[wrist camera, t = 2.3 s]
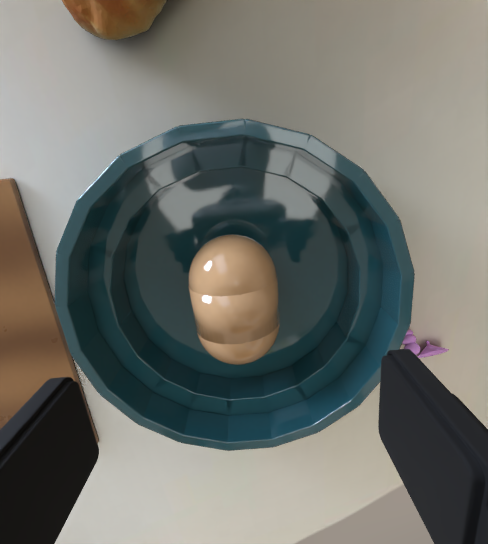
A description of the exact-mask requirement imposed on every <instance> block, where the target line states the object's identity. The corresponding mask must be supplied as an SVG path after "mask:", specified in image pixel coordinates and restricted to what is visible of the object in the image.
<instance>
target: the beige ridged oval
mask: <svg viewBox="0 0 488 544" xmlns="http://www.w3.org/2000/svg"><path fill="white" fill-rule="evenodd" d="M188 286H189V292H190V297H191V303H192V309H193V315H194V321H195V327H196V332H197V335H198V338H199V341H200V343H201V344H202V346H203V348H204V349H205V350H206V351H207V352H208V353H209V354H210V355H211V356H212V357H214V358H215V359H217V360H218V361H221V362H223V363H227V364H231V365H245V364H249V363H252V362H254V361H256V360H258V359H260V358H262V357H263V356H264V355H265V354H266V353H267V352H268V351H269V350H270V349H271V348H272V347H273V345H274V343H275V341H276V339H277V336H278V333H279V329H280V312H279V298H278V283H277V272H276V267H275V264H274V261H273V259H272V257H271V256H270V254H269V253H268V251H267V250H266V249H265V248H264V247H263V246H262V245H261V244H260V243H259V242H257V241H255V240H254V239H252V238H250V237H247V236H244V235H238V234H226V235H221V236H218V237H215V238H213V239H211V240H210V241H208V242H207V243H205V244H204V245H203V246H202V247H201V248H200V249H199V250H198V251H197V253H196V254H195V256H194V257H193V259H192V262H191V264H190V268H189V274H188Z"/></svg>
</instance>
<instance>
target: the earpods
mask: <svg viewBox="0 0 488 544" xmlns="http://www.w3.org/2000/svg"><path fill="white" fill-rule="evenodd" d="M412 334H413V331H411V330H408V331H407V333H406V335H405V338H404V340H403V342H402V343H403V344H405V347H404V349H410V350H411V351H412V352H413V353H414V354H415V355H416V354H419V352H420V346H419V345H418V344H417V343H415V341H416V337H415V336H414V335H412ZM426 344H427V346H426V348H425V349H424V350H423V351H422V352H421V353H420V354H419V355H418V356H417V357H418V358H422V357H428V356H433V355H437V354H440V353H444V352H446V351H448V350H449V349H445V348H441V347H437V346H434V345H430V342H429V341H426Z"/></svg>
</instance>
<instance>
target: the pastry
mask: <svg viewBox="0 0 488 544" xmlns="http://www.w3.org/2000/svg"><path fill="white" fill-rule="evenodd" d="M166 1H167V0H62V2H63V3H64V5H65V6H66V8H67V9H68V10H69V12H70V13H71V15H72V16H73V18H74V20H75V21H76V22H77V23H78V24H79V25H80V26H81V27H82V28H83V29H85V30H86V31H88V32H90V33H91V34H93V35H95V36H97V37H99V38H103V39H107V40H119V39H123V38H128V37H132V36H135V35H137V34H139V33H142V32H145V31H147V30H148V29H149V28H150V27H151V25H152V23H153V21H154V19H155V17H156V16H157V15H158V14H159V13H160V12H161V10H162V8H163V5H164V4H165V3H166Z"/></svg>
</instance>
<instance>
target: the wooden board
mask: <svg viewBox="0 0 488 544" xmlns="http://www.w3.org/2000/svg"><path fill="white" fill-rule="evenodd" d="M61 377H71V378H72V379H73V380H74V381H76V382H78V384H79V386H80V389H81V393H82V396H83V399H84V402H85V406H86V409H87V412H88V415H89V419H90V422H91V425H92V428H93V431H94V435H95V438H96V441H97V444H98V442H99V440H98V437H97V434H96V431H95V428H94V424H93V421H92V418H91V415H90V412H89V409H88V406H87V403H86V400H85V397H84V393H83V390H82V387H81V384H80V381H79V378H78V375H77V372H76V369H75V366H74V362H73V359H72V356H71V353H70V351H69V348H68V345H67V342H66V339H65V336H64V333H63V330H62V327H61V324H60V321H59V317H58V314H57V311H56V308H55V304H54V301H53V297H52V294H51V291H50V288H49V285H48V282H47V279H46V276H45V273H44V270H43V266H42V263H41V260H40V257H39V254H38V251H37V248H36V245H35V242H34V239H33V235H32V232H31V229H30V226H29V223H28V220H27V217H26V214H25V211H24V208H23V205H22V201H21V198H20V195H19V192H18V189H17V186H16V183H15V180H14V179H13V178H11V179H0V429H1V428H2V427H3V426H4V425H5V424H6V423H7V422H8V421H9V420H10V419H11V418H12V417H13V416H14V415H15V414H16V413H17V412H18V411H19V410H20V408H21V407H22V406H23V405H24V404H25V403H26V402H27V401H28V400H29V399H30V398H31V397H32V396H33V395H34V394H35V393H36V392H37V391H38V390H39V389H40V387H41V386H42V385H43V384H44V383H45V382H46V381H47V380H49V379H51V378H61Z"/></svg>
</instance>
